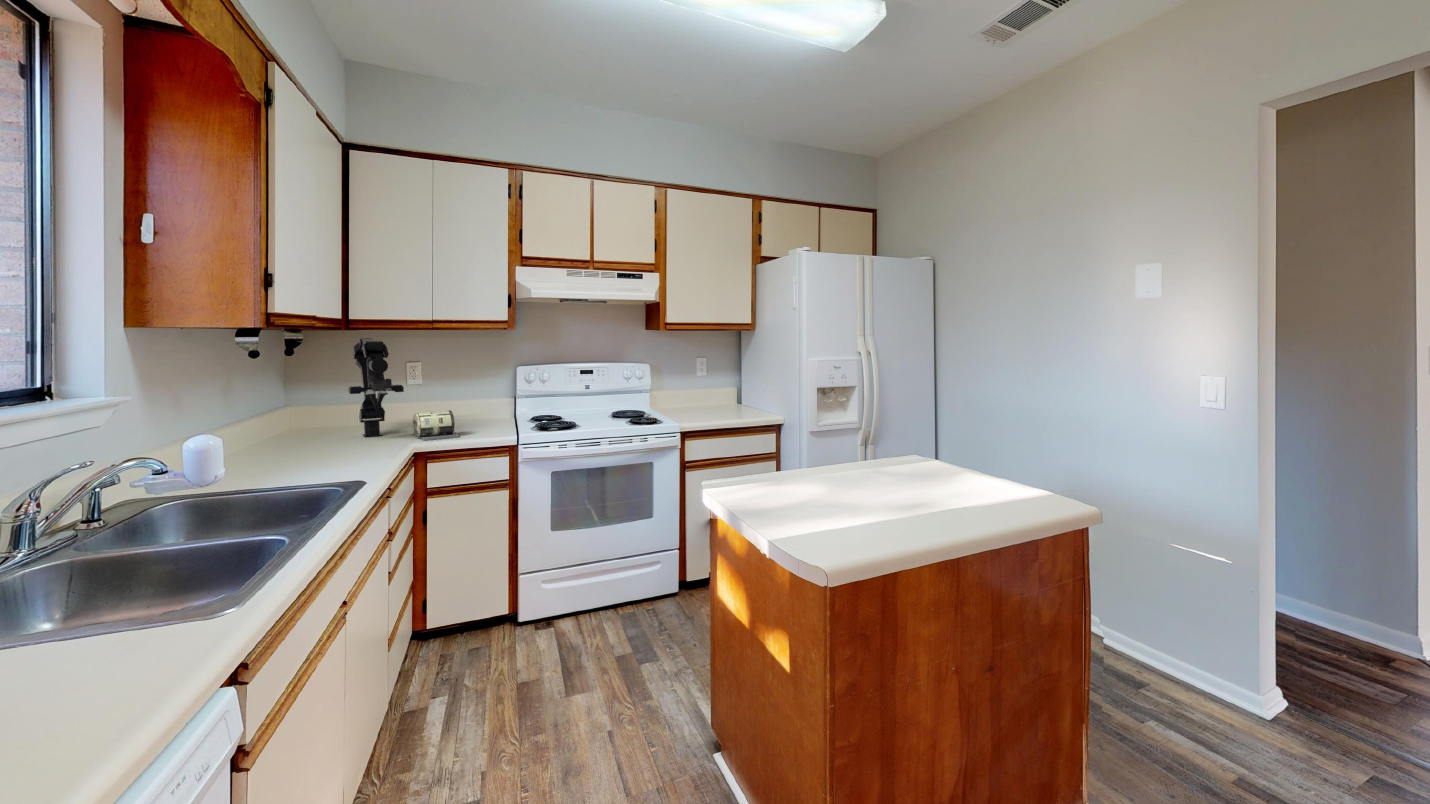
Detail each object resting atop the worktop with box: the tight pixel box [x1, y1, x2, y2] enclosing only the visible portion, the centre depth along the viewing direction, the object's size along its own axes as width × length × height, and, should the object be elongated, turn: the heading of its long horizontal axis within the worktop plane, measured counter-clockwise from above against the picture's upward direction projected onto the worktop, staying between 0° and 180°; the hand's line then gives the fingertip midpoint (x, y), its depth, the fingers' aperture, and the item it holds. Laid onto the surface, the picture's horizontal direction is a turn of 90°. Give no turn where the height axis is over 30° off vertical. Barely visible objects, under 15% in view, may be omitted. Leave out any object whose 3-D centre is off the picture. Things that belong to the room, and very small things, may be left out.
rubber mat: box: [412, 432, 461, 441], centre depth 243 cm, size 20×14×1 cm
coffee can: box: [412, 409, 456, 438], centre depth 240 cm, size 10×10×14 cm
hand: (377, 410), depth 228 cm, fingers closed
